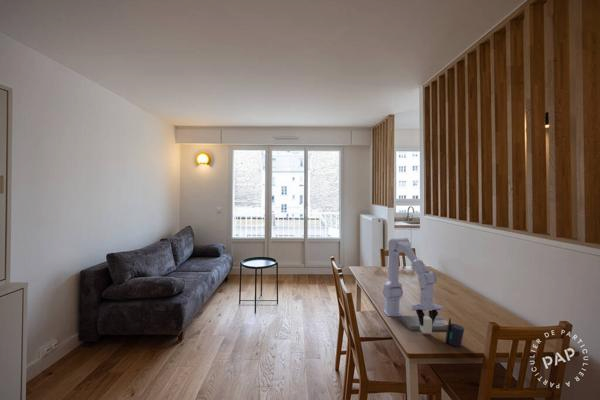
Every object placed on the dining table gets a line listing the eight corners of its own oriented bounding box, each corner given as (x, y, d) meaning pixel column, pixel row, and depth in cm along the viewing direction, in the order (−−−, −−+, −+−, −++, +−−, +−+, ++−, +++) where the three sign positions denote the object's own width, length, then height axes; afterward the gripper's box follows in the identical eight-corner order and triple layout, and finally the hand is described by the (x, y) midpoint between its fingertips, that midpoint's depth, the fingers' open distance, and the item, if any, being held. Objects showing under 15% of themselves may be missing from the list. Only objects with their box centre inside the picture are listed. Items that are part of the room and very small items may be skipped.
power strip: (400, 319, 163) (400, 314, 163) (440, 319, 164) (440, 314, 164) (410, 330, 150) (410, 324, 150) (453, 330, 151) (453, 325, 151)
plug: (420, 329, 148) (420, 316, 148) (428, 329, 148) (428, 316, 148) (423, 333, 144) (423, 319, 144) (431, 333, 144) (432, 319, 144)
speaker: (441, 342, 138) (444, 320, 137) (445, 338, 142) (448, 317, 141) (458, 350, 132) (462, 327, 132) (463, 346, 137) (466, 323, 136)
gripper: (415, 299, 142) (414, 328, 142) (445, 300, 142) (445, 328, 142) (409, 294, 149) (408, 322, 149) (438, 295, 149) (437, 322, 149)
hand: (426, 325), depth 146 cm, fingers closed on plug, 4 cm apart
